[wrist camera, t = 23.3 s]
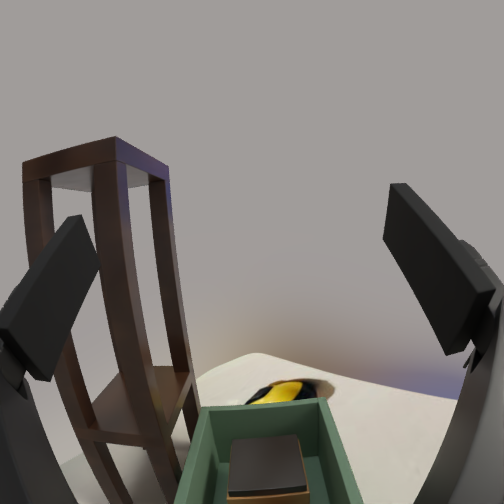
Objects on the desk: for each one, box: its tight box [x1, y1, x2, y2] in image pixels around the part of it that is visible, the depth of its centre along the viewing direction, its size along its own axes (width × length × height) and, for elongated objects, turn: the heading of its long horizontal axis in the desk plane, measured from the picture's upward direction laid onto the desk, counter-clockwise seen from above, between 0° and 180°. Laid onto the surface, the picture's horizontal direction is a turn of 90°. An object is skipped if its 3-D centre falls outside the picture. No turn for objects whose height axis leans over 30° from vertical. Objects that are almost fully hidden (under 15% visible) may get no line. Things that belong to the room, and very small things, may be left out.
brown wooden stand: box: [22, 136, 201, 504], centre depth 24 cm, size 8×12×30 cm, turn 179°
